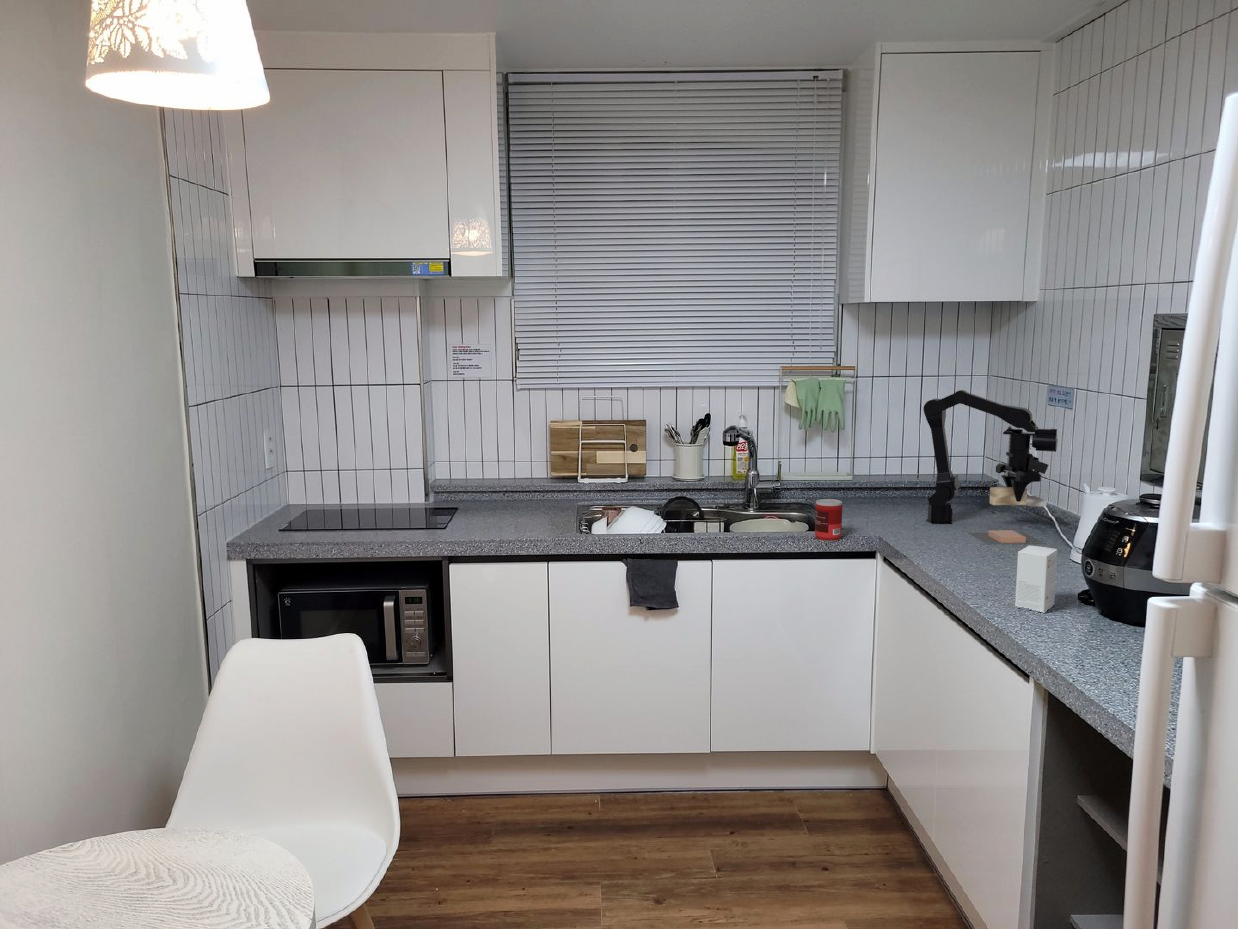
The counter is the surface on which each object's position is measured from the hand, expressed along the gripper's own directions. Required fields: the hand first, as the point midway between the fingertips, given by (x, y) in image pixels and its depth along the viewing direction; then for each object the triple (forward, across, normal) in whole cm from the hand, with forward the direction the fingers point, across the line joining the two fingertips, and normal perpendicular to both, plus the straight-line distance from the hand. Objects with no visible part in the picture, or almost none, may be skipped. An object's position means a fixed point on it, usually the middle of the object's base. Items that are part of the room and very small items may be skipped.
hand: (1015, 500), depth 279 cm
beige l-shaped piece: (+1, 0, 0) cm, 1 cm away
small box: (+9, -78, +29) cm, 84 cm away
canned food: (+10, -9, +59) cm, 61 cm away
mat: (+9, -13, +8) cm, 17 cm away
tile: (+8, -10, +8) cm, 15 cm away
